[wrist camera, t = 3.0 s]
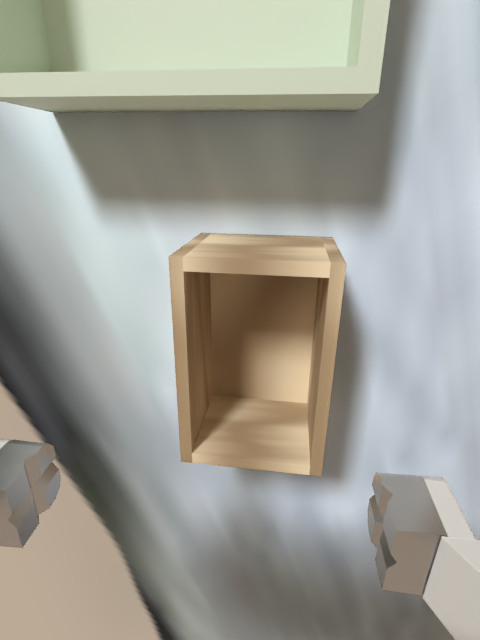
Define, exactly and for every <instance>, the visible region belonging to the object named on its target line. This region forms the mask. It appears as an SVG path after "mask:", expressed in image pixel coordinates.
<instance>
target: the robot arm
mask: <svg viewBox="0 0 480 640" xmlns="http://www.w3.org/2000/svg"><path fill="white" fill-rule="evenodd" d="M55 457H56V454H55V451H54V447H53V446H52V445H50V444H46V443H36V442H28V441H19V440H7V439H0V546H6V547H18V548H22V547H23V546H24V545H25V543H26V542H27V540H28V539H29V537H30V536H31V535H32V533H33V532H34V530H35V529H36V527H37V526H38V524H39V516H38V515H39V514H41V513H42V512H44V511H45V510H47V509H49V508H50V506H51V505H52V503H53V502H54V500H55V499H56V496H57V494H58V490H59V487H60V472H59V469H58V468H57V467H56V466H55V465H54V464H53V463H52V461H53V460H54V458H55ZM372 486H373V490H374V494H375V495H374V496H372V497H371V498H370V499H369V505H368V528H369V534H370V539H371V542H372V543H373V544H374V545H375V546H376V547H377V554H376V559H375V561H376V565H377V570H378V574H379V578H380V583H381V587H382V590H387V591H394V592H401V593H407V594H414V595H421V596H423V599H424V600H425V602H426V603H427V604H428V605H429V607H430V608H431V609H432V611H433V612H434V613H435V615H436V616H437V617H438V618H439V620H440V621H441V622H442V624H443V625H444V626H445V627H446V629H447V630H448V631H449V633H450V634H451V635H452V636H453V638H454V639H455V640H480V540H476V539H475V537H474V535H473V533H472V531H471V529H470V527H469V525H468V523H467V521H466V519H465V517H464V515H463V513H462V511H461V509H460V507H459V505H458V503H457V501H456V499H455V497H454V495H453V493H452V491H451V489H450V487H449V485H448V484H447V482H446V480H445V479H443V478H442V477H430V476H414V475H401V474H389V473H376V474H375V476H374V479H373V483H372Z"/></svg>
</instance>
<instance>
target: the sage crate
mask: <svg viewBox="0 0 480 640" xmlns="http://www.w3.org/2000/svg"><path fill="white" fill-rule="evenodd" d="M389 8H390V0H0V101H3V102H7V103H12V104H17V105H21V106H26V107H31V108H35V109H40V110H45V111H49V112H174V111H358V110H360V109H361V108H362V107H363V106H364V105H365V104H367V103H368V102H369V101H370V100H371V99H373V98H374V97H375V96H376V95H377V94H378V93H379V86H380V78H381V70H382V62H383V54H384V47H385V39H386V31H387V23H388V15H389Z"/></svg>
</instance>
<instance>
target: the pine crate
mask: <svg viewBox="0 0 480 640" xmlns="http://www.w3.org/2000/svg"><path fill="white" fill-rule="evenodd" d="M169 271H170V287H171V304H172V320H173V337H174V354H175V370H176V387H177V403H178V420H179V437H180V453H181V462H190V463H199V464H209V465H218V466H228V467H237V468H247V469H256V470H266V471H275V472H285V473H294V474H304V475H313V476H322V467H323V459H324V450H325V442H326V433H327V425H328V416H329V408H330V399H331V391H332V382H333V374H334V365H335V357H336V348H337V340H338V331H339V323H340V314H341V306H342V297H343V289H344V280H345V272H346V262H345V260H344V258H343V256H342V255H341V253H340V251H339V249H338V247H337V245H336V243H335V241H334V239H333V237H309V236H278V235H248V234H218V233H200V234H199V235H198V236H196V237H195V238H193V239H192V240H191V241H189V242H188V243H187V244H185V245H184V246H183V247H181V248H180V249H178V250H177V251H176V252H174V253H173V254H172V255H170V256H169Z"/></svg>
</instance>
